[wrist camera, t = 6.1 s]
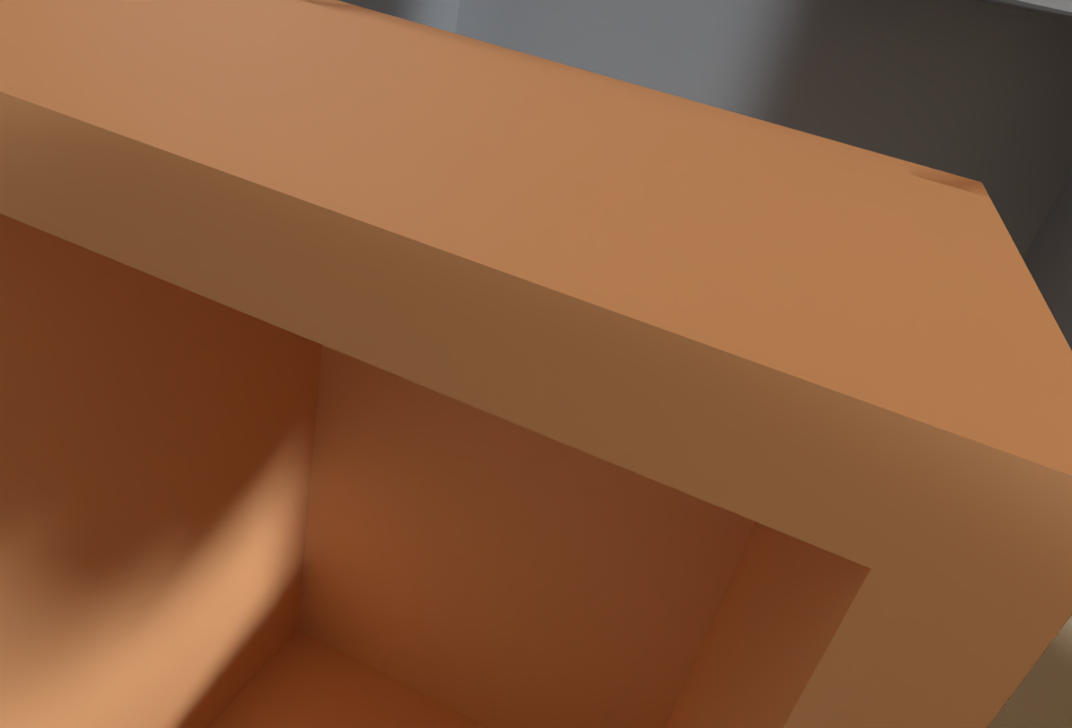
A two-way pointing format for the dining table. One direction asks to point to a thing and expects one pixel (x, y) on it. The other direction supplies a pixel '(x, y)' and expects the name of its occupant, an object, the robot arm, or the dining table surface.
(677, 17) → the grey open box
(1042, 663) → the dining table surface
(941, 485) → the orange crate
